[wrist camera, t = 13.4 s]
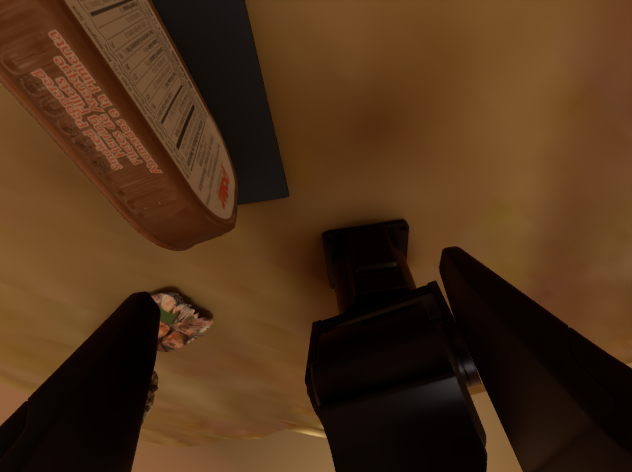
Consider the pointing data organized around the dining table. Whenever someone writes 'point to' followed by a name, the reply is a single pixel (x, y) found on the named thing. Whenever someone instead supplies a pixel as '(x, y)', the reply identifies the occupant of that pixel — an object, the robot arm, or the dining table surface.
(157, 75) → the tin
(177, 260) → the dining table surface
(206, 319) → the plant with pod
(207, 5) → the placemat
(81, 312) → the dining table surface
